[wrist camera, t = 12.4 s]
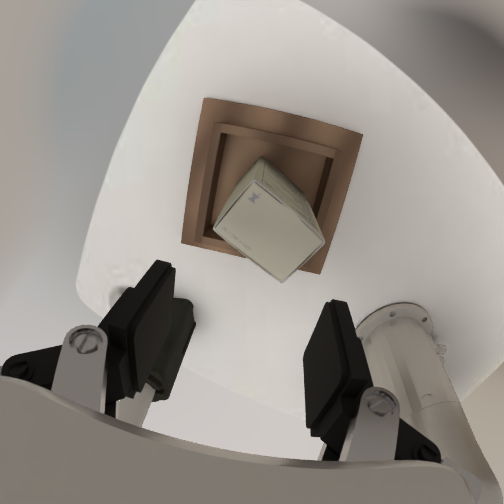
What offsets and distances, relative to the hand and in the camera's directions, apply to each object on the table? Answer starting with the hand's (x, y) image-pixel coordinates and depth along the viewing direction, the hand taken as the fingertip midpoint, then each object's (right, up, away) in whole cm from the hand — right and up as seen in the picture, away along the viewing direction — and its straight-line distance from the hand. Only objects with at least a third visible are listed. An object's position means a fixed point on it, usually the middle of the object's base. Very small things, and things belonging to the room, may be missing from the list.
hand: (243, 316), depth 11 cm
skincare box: (+2, +9, +19) cm, 21 cm away
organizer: (+2, +9, +19) cm, 22 cm away
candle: (-10, -6, +28) cm, 30 cm away
